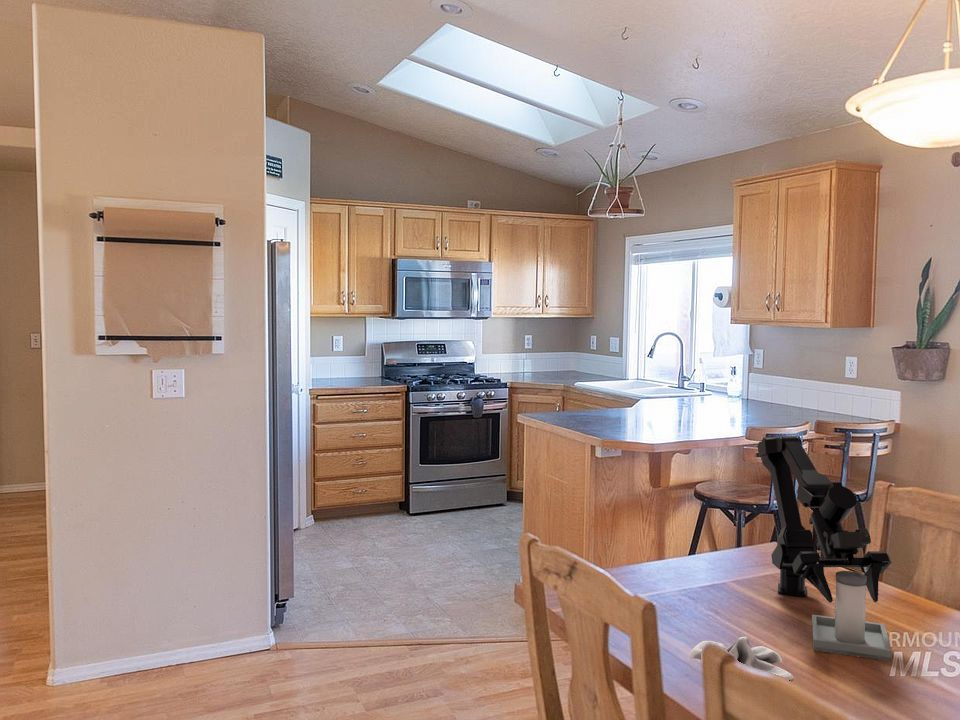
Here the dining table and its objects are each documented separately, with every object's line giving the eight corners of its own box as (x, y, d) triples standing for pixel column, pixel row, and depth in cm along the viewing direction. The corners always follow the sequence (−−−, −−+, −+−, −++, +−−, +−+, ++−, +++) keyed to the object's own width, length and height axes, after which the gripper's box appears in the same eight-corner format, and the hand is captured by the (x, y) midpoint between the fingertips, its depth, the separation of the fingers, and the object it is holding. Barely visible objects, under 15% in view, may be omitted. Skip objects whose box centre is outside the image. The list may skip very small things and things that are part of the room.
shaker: (827, 635, 161) (829, 573, 160) (848, 630, 163) (849, 569, 163) (850, 646, 156) (852, 582, 155) (871, 641, 158) (873, 578, 157)
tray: (811, 624, 169) (812, 614, 169) (883, 634, 164) (884, 623, 163) (813, 650, 156) (813, 639, 156) (891, 661, 151) (891, 650, 150)
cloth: (680, 644, 160) (681, 615, 160) (772, 646, 159) (772, 617, 159) (704, 697, 138) (705, 664, 138) (811, 700, 137) (812, 666, 137)
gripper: (799, 514, 162) (820, 584, 152) (888, 513, 162) (916, 583, 152) (783, 540, 170) (803, 608, 160) (868, 539, 170) (893, 607, 160)
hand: (853, 601), depth 158 cm, fingers open, 9 cm apart
